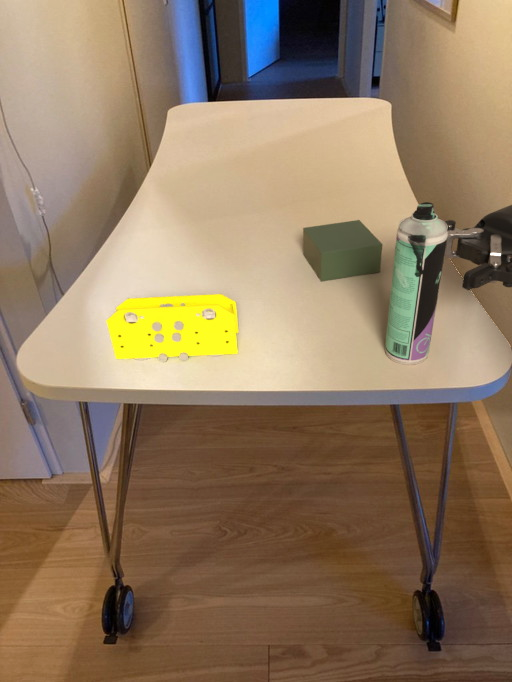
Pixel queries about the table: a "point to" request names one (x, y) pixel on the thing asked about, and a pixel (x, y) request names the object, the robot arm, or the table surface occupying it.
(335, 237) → the sage block
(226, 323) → the yellow toy chassis
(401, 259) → the spray can
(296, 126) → the table surface
